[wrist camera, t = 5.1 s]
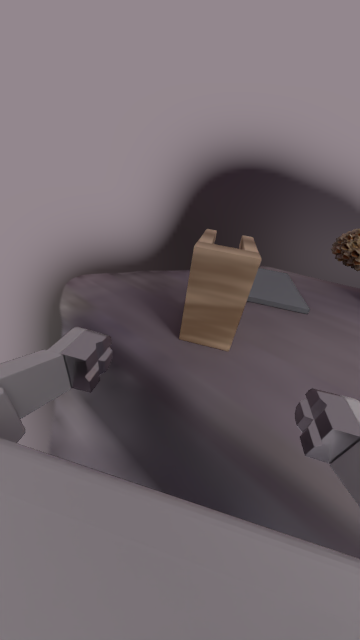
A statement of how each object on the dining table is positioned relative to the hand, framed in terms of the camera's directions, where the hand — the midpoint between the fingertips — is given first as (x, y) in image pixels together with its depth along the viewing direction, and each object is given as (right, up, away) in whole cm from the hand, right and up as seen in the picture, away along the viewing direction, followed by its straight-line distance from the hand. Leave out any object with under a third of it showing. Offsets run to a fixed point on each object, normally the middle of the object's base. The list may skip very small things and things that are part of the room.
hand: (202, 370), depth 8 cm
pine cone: (+49, +15, +48) cm, 70 cm away
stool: (+3, +2, +17) cm, 18 cm away
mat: (+15, +8, +30) cm, 35 cm away
